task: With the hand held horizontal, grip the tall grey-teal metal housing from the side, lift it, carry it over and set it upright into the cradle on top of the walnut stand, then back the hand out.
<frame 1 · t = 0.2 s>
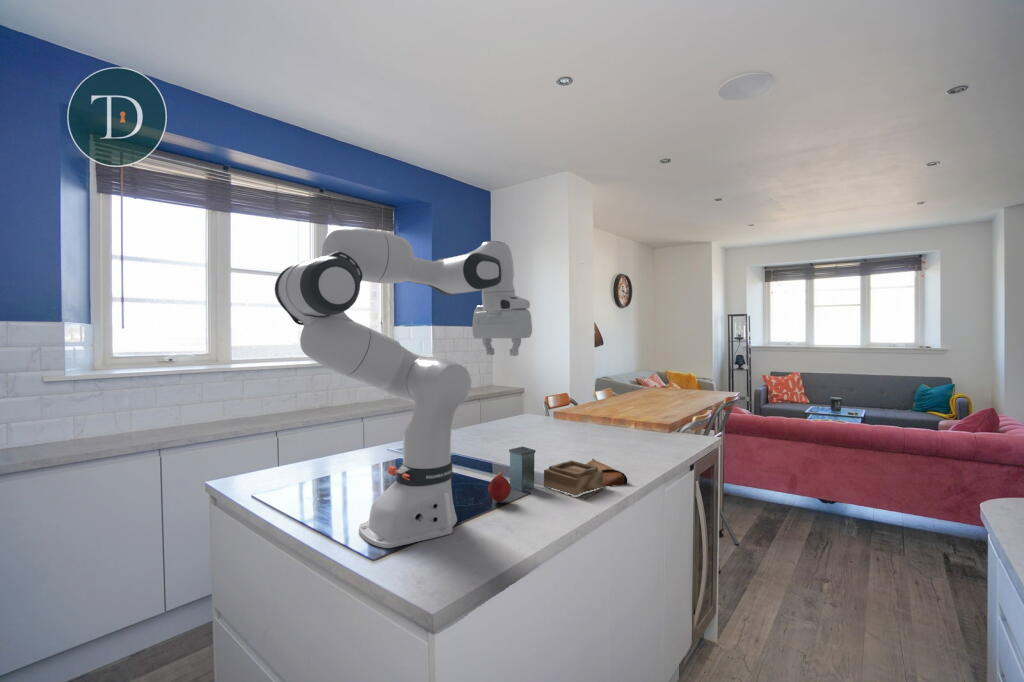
hand: (502, 355, 127), 39 cm above the table, tool pointing down, fingers open, 8 cm apart
sunglasses case: (599, 479, 147), on the table
onion: (499, 503, 125), on the table
walnut stand: (573, 487, 137), on the table
housing: (521, 487, 137), on the table
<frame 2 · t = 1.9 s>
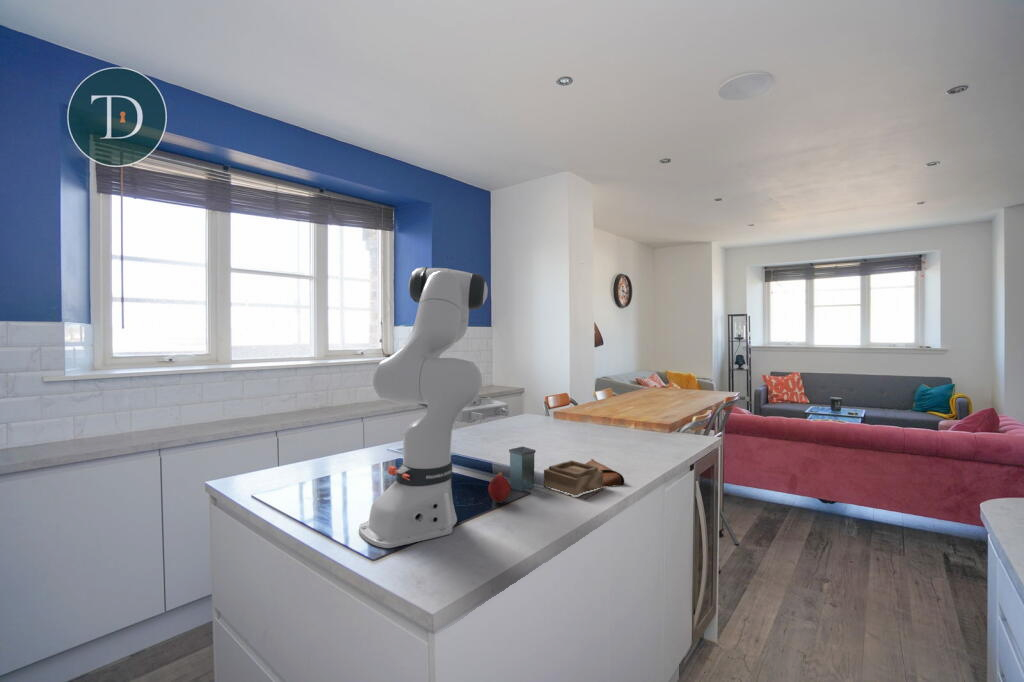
hand: (495, 415, 146), 19 cm above the table, tool horizontal, fingers open, 8 cm apart
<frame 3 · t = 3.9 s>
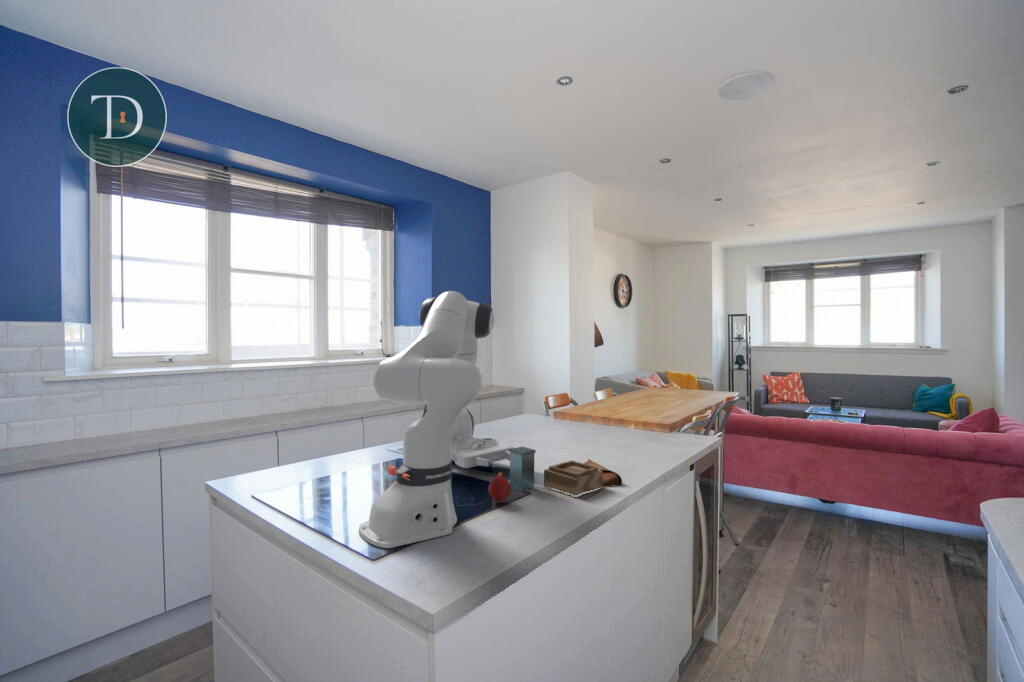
hand: (501, 460, 144), 6 cm above the table, tool horizontal, fingers open, 8 cm apart
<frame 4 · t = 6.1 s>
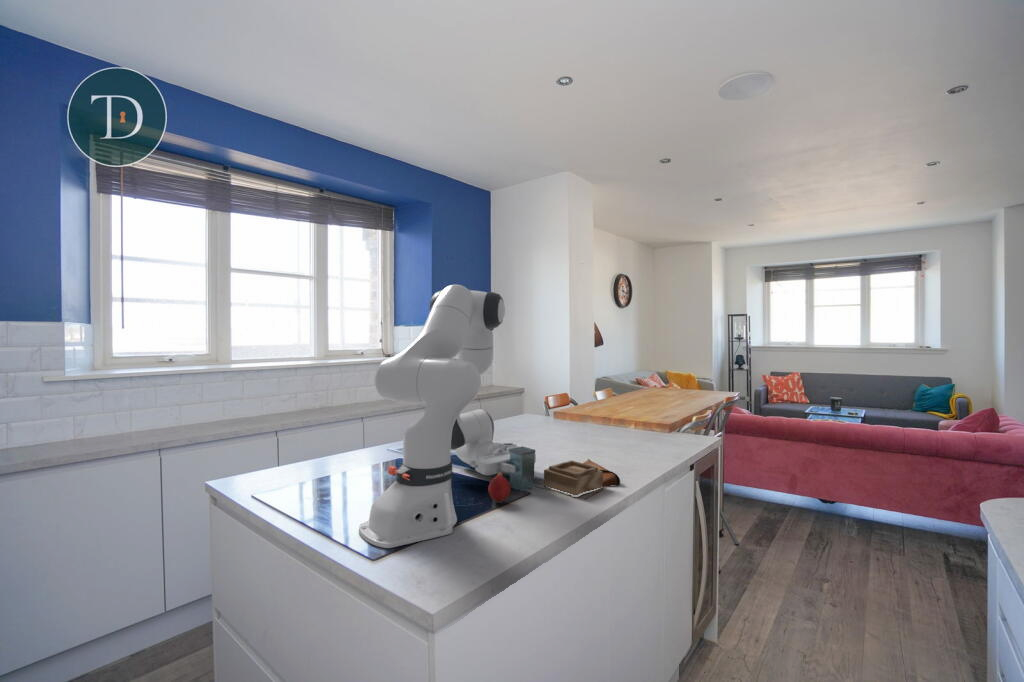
hand: (524, 467, 137), 6 cm above the table, tool horizontal, fingers closed on housing, 5 cm apart
housing: (521, 487, 137), on the table, touching gripper
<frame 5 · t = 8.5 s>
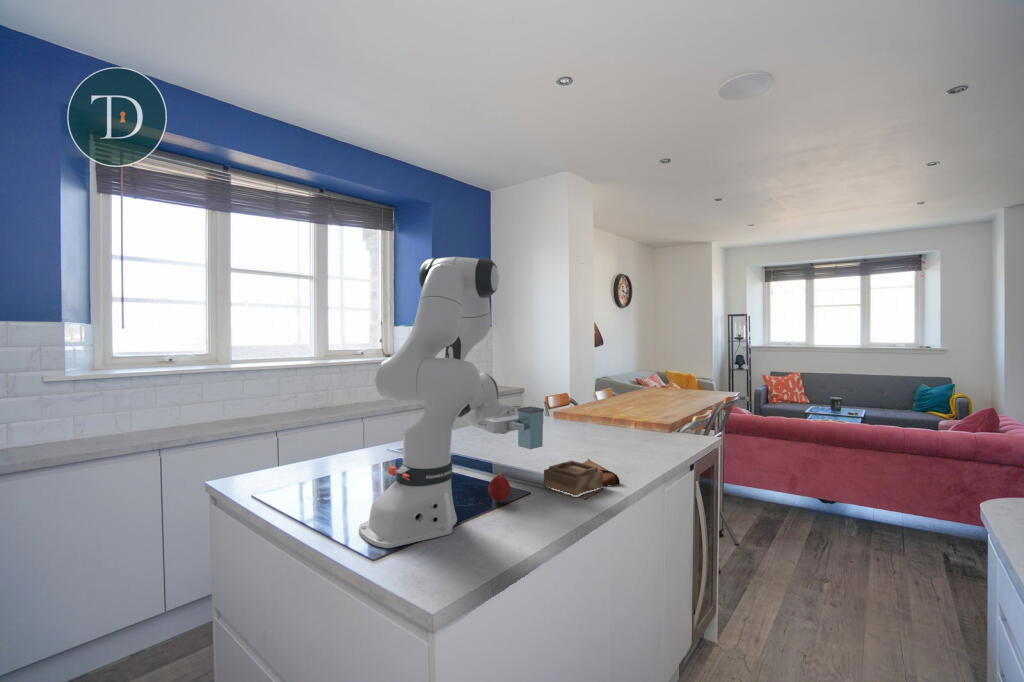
hand: (532, 426, 136), 18 cm above the table, tool horizontal, fingers closed on housing, 5 cm apart
housing: (530, 446, 137), point 12 cm above the table, touching gripper
when the fingers open (12 cm above the table, at t = 11.1 s): housing drops 1 cm, resting on walnut stand.
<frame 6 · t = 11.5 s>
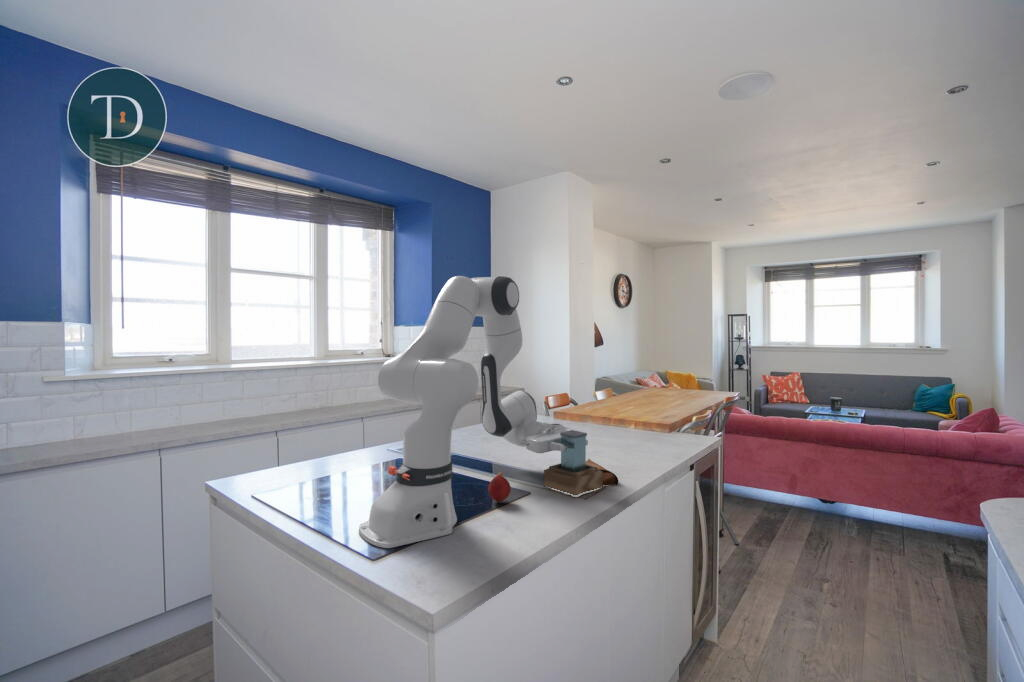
hand: (576, 445, 136), 12 cm above the table, tool horizontal, fingers open, 8 cm apart
housing: (573, 470, 137), point 5 cm above the table, touching walnut stand
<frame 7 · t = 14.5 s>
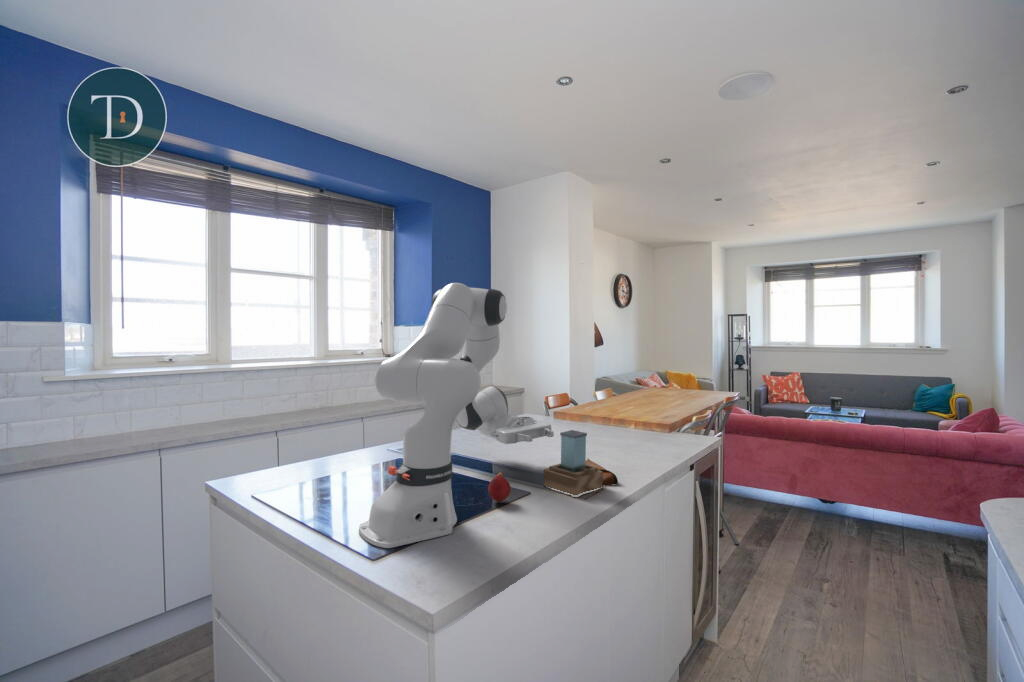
hand: (541, 436, 147), 13 cm above the table, tool horizontal, fingers open, 8 cm apart
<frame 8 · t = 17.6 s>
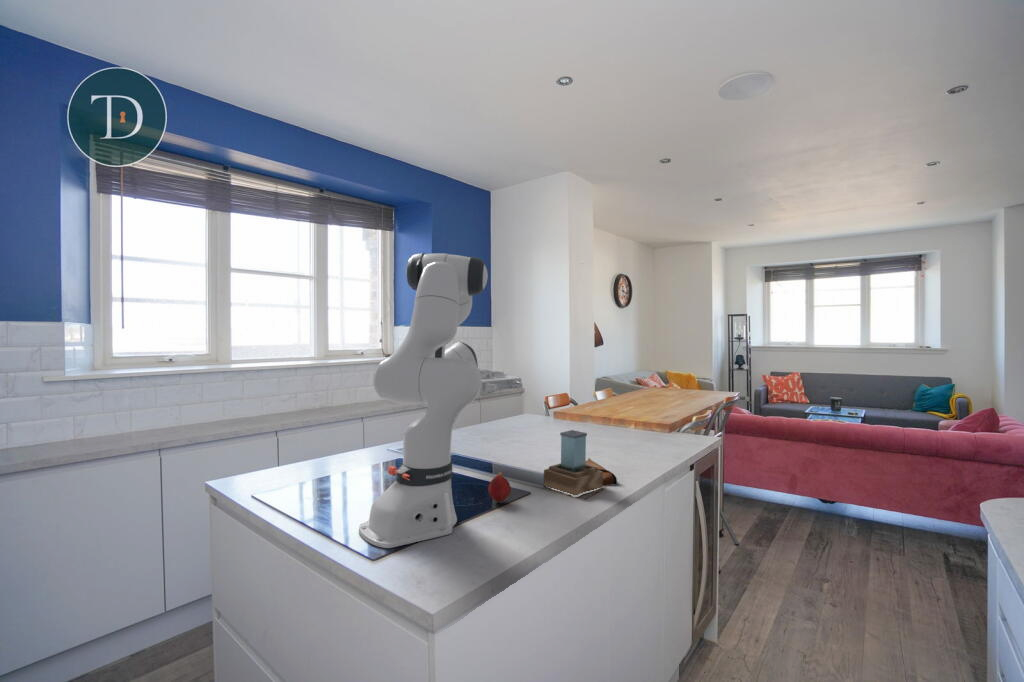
hand: (509, 386, 147), 28 cm above the table, tool horizontal, fingers open, 8 cm apart
at the end: housing 0.0 cm off-centre on the walnut stand, point 5.0 cm above the walnut stand's base; housing tilted 0°; the gripper is holding nothing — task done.
